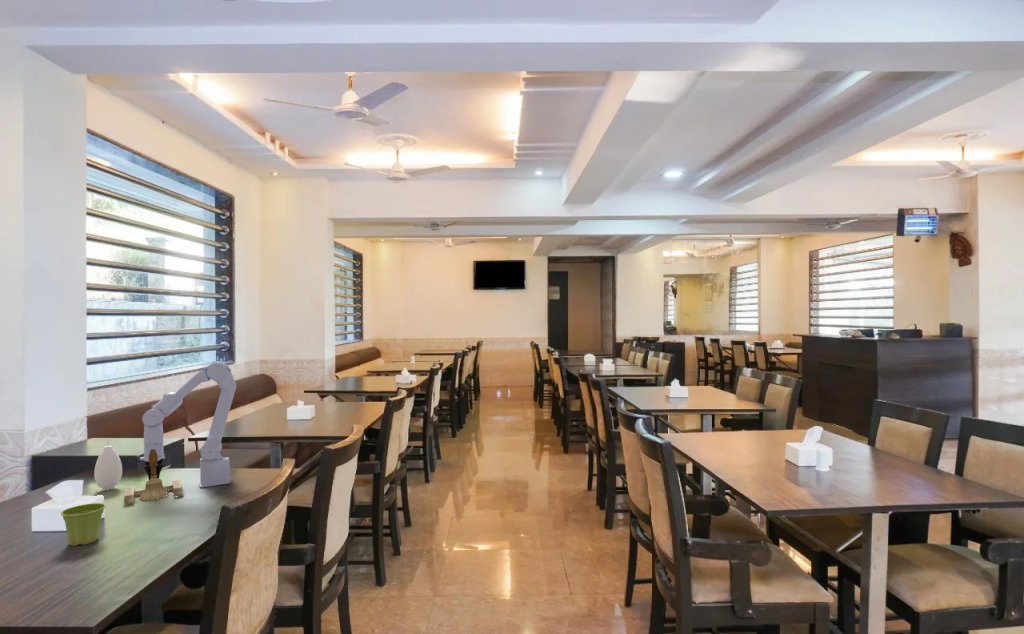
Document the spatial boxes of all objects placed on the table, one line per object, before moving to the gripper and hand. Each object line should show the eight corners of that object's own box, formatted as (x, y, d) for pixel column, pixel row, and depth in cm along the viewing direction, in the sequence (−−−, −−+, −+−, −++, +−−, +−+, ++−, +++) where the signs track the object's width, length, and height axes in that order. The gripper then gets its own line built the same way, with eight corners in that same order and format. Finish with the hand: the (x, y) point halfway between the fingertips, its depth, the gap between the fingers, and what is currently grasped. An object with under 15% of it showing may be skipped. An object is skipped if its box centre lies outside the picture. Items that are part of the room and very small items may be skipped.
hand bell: (158, 500, 179) (157, 451, 179) (133, 501, 179) (132, 452, 180) (174, 493, 187) (173, 446, 188) (150, 493, 188) (149, 446, 188)
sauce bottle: (90, 491, 192) (90, 439, 192) (116, 485, 198) (115, 435, 199) (100, 494, 188) (100, 441, 188) (126, 488, 194) (125, 437, 195)
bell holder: (181, 488, 193) (181, 479, 193) (182, 496, 183) (182, 487, 183) (125, 497, 184) (125, 488, 184) (124, 505, 174) (124, 496, 174)
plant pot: (114, 536, 147) (114, 504, 147) (76, 550, 138) (76, 516, 139) (90, 533, 150) (90, 501, 151) (52, 546, 141) (51, 512, 142)
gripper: (140, 441, 195) (140, 479, 194) (139, 448, 182) (139, 489, 182) (163, 439, 198) (164, 476, 198) (164, 445, 186) (164, 485, 186)
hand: (154, 482), depth 190 cm, fingers open, 7 cm apart
